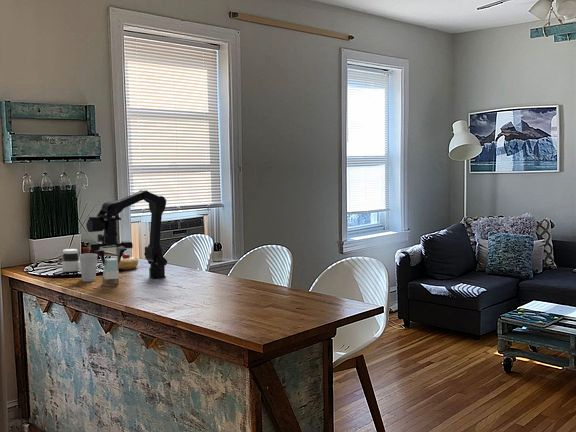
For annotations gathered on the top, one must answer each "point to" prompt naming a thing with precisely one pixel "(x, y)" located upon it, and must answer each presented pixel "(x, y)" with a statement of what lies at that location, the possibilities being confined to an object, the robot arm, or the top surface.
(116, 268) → the painted cube
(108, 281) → the walnut slab
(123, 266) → the pastry
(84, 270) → the cup
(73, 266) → the spread jar
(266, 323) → the top surface
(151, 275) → the robot arm
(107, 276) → the cream slab
